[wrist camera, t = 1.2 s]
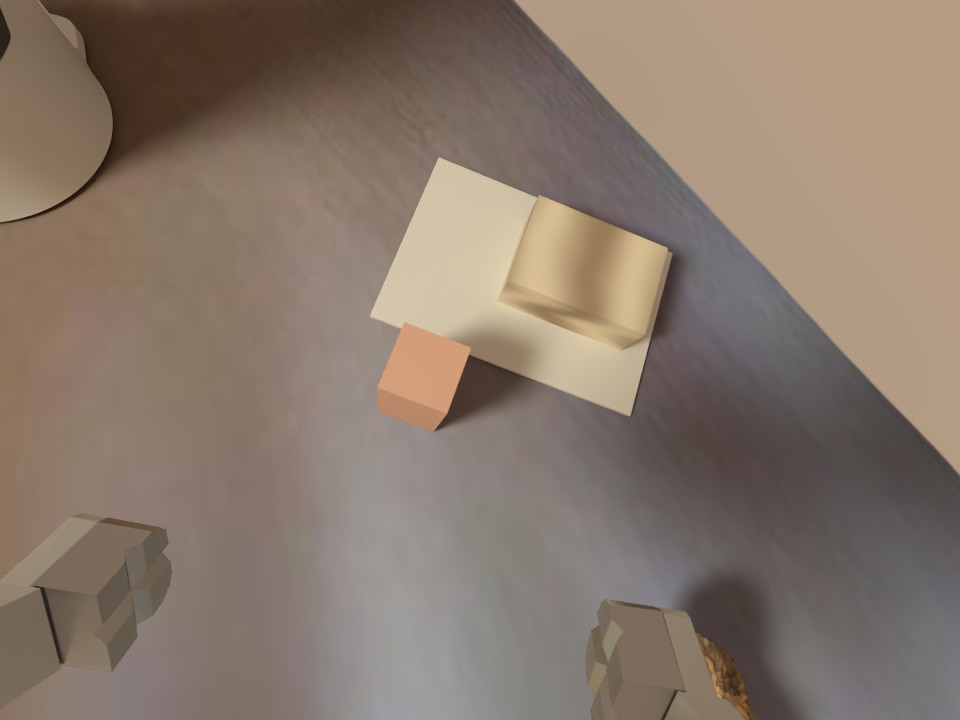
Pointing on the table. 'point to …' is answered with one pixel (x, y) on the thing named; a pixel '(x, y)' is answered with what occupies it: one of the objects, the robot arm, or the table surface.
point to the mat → (496, 292)
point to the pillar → (421, 377)
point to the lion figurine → (725, 676)
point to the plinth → (583, 275)
